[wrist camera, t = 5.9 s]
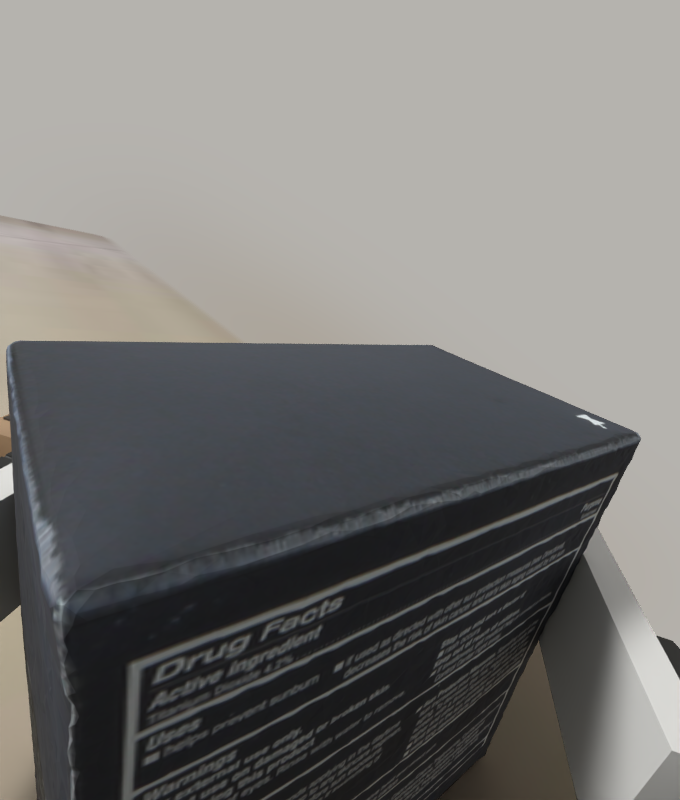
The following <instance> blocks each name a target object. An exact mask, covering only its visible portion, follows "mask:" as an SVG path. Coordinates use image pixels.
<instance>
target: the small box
mask: <svg viewBox="0 0 680 800" xmlns="http://www.w3.org/2000/svg"><path fill="white" fill-rule="evenodd" d="M6 363H7V385H8V398H9V415H10V430H11V449H12V468H13V490H14V500H15V519H16V542H17V550H18V569H19V583H20V587H19V588H20V599H21V617H22V625H23V640H24V651H25V661H26V674H27V684H28V693H29V706H30V718H31V728H32V740H33V752H34V763H35V778H36V791H37V800H436V799H437V798H439V797H440V796H441V795H442V794H443V793H444V792H445V791H446V790H447V789H448V788H449V787H450V786H451V785H452V784H453V783H454V782H455V781H456V780H458V779H459V777H460V776H461V775H462V774H463V773H465V772H466V771H467V770H468V769H469V768H470V767H471V766H472V765H473V764H474V763H475V762H476V761H477V760H479V759H480V758H481V757H483V756H484V755H485V754H486V751H487V748H488V746H489V744H490V742H491V739H492V737H493V735H494V733H495V731H496V729H497V727H498V725H499V722H500V720H501V718H502V716H503V712H504V711H505V709H506V706H507V704H508V702H509V700H510V698H511V696H512V694H513V691H514V689H515V687H516V685H517V682H518V680H519V678H520V676H521V675H522V673H523V672H524V669H525V667H526V664H527V662H528V660H529V658H530V656H531V654H532V653H533V650H534V648H535V646H536V645H537V643H538V640H539V637H540V635H541V634H542V632H543V630H544V627H545V624H546V623H547V621H548V619H549V617H550V616H551V615H552V613H553V612H554V611H555V609H556V607H557V605H558V603H559V601H560V599H561V596H562V594H563V593H564V591H565V589H566V587H567V585H568V584H569V582H570V580H571V577H572V575H573V573H574V570H575V568H576V566H577V565H578V564H579V562H580V559H581V556H582V554H583V553H584V551H585V550H586V549H587V546H588V543H589V540H590V539H591V537H592V536H593V534H594V532H595V529H596V528H597V526H598V525H599V522H600V519H601V517H602V515H603V512H604V510H605V509H606V508H607V506H608V505H609V502H610V500H611V498H612V496H613V495H614V493H615V491H616V490H617V487H618V484H619V482H620V479H621V478H622V476H623V474H624V472H625V470H626V468H627V466H628V464H629V463H630V461H631V460H632V457H633V455H634V452H635V450H636V448H637V446H638V444H639V442H640V440H641V438H640V436H639V434H638V433H636V432H634V431H632V430H630V429H627V428H625V427H623V426H620V425H618V424H616V423H613V422H611V421H608V420H606V419H604V418H601V417H599V416H597V415H594V414H591V413H589V412H587V411H585V410H582V409H580V408H578V407H575V406H573V405H571V404H568V403H566V402H564V401H562V400H559V399H557V398H554V397H552V396H550V395H548V394H545V393H543V392H540V391H538V390H536V389H533V388H531V387H528V386H526V385H523V384H521V383H519V382H516V381H514V380H512V379H509V378H507V377H505V376H502V375H500V374H498V373H496V372H493V371H491V370H489V369H486V368H484V367H481V366H479V365H476V364H474V363H472V362H469V361H467V360H465V359H462V358H460V357H458V356H456V355H453V354H451V353H448V352H446V351H444V350H442V349H439V348H437V347H435V346H433V345H347V344H346V345H345V344H344V345H343V344H341V345H340V344H252V343H176V342H92V341H16V342H13V343H12V344H10V345H9V346H8V347H7V350H6Z"/></svg>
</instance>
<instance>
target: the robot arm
mask: <svg viewBox="0 0 680 800" xmlns="http://www.w3.org/2000/svg"><path fill="white" fill-rule="evenodd" d="M19 587H20V583H19V569H18V550H17V542H16V519H15V500H14V490H13V468H12V452H10V453H7V454H6V455H5V457H2V456H1V457H0V622H1V621H2V620H3V619H4V618H5V617H7V616H8V615H9V614H10V613H11V612H12V611H14V610H15V609H16V608H17V607H18V606H19V605H21V599H20V588H19ZM539 643H540V647H541V651H542V655H543V659H544V663H545V668H546V672H547V676H548V680H549V684H550V688H551V693H552V697H553V701H554V705H555V709H556V713H557V718H558V722H559V726H560V730H561V734H562V738H563V743H564V747H565V751H566V755H567V759H568V763H569V768H570V772H571V776H572V780H573V784H574V788H575V793H576V797H577V800H680V649H679V647H678V646H677V645H676V644H675V643H674V642H673V641H671V640H668V639H665V638H662V637H659V636H656V635H655V633H654V631H653V629H652V628H651V625H650V624H649V622H648V620H647V618H646V616H645V615H644V612H643V611H642V609H641V607H640V605H639V603H638V601H637V600H636V598H635V596H634V594H633V592H632V590H631V589H630V587H629V585H628V583H627V581H626V579H625V577H624V576H623V574H622V572H621V570H620V568H619V566H618V564H617V563H616V561H615V559H614V557H613V555H612V553H611V552H610V550H609V548H608V546H607V544H606V542H605V541H604V539H603V537H602V535H601V533H600V531H599V529H598V527H597V528H596V529H595V532H594V534H593V536H592V537H591V539H590V540H589V543H588V546H587V549H586V550H585V551H584V553H583V554H582V556H581V559H580V562H579V564H578V565H577V566H576V568H575V570H574V573H573V575H572V577H571V580H570V582H569V584H568V585H567V587H566V589H565V591H564V593H563V594H562V596H561V599H560V601H559V603H558V605H557V607H556V609H555V611H554V612H553V613H552V615H551V616H550V617H549V619H548V621H547V623H546V624H545V627H544V630H543V632H542V634H541V635H540V637H539Z"/></svg>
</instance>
